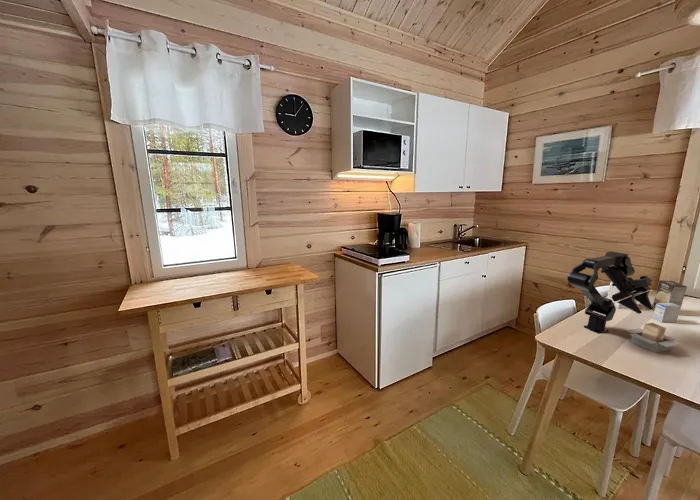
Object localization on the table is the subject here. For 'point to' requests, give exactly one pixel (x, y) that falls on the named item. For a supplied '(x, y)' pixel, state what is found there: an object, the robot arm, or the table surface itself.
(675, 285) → the coffee box
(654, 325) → the box
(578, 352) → the table surface
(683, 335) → the table surface
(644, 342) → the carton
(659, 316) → the medicine box
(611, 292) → the supplement box
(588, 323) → the robot arm
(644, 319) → the table surface
